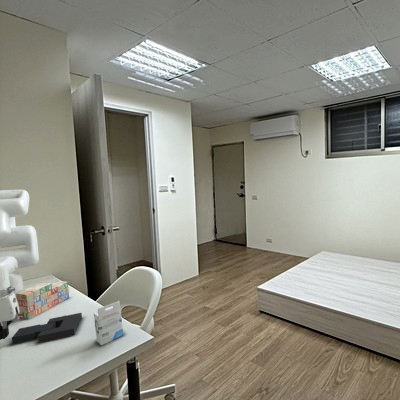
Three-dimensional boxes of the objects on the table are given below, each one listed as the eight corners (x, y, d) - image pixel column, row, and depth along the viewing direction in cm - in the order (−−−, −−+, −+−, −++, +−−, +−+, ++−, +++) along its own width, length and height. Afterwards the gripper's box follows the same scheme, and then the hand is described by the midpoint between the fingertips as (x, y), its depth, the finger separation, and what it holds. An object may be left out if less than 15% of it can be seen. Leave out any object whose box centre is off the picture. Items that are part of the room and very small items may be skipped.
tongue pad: (12, 344, 104) (11, 337, 104) (20, 334, 110) (19, 328, 110) (51, 336, 109) (50, 329, 108) (56, 327, 115) (55, 321, 115)
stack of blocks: (59, 296, 145) (58, 275, 143) (69, 298, 143) (67, 276, 142) (17, 318, 124) (15, 292, 123) (28, 319, 123) (26, 294, 121)
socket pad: (38, 342, 104) (37, 336, 104) (50, 324, 117) (49, 318, 117) (74, 334, 109) (73, 328, 109) (82, 318, 122) (81, 312, 121)
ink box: (118, 330, 111) (115, 297, 109) (123, 335, 107) (120, 300, 106) (95, 341, 104) (92, 305, 103) (100, 346, 101) (97, 309, 99)
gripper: (25, 286, 110) (30, 328, 112) (-22, 293, 105) (-16, 337, 106) (17, 293, 103) (23, 337, 105) (-34, 301, 98) (-27, 348, 99)
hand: (3, 337), depth 105 cm, fingers closed
